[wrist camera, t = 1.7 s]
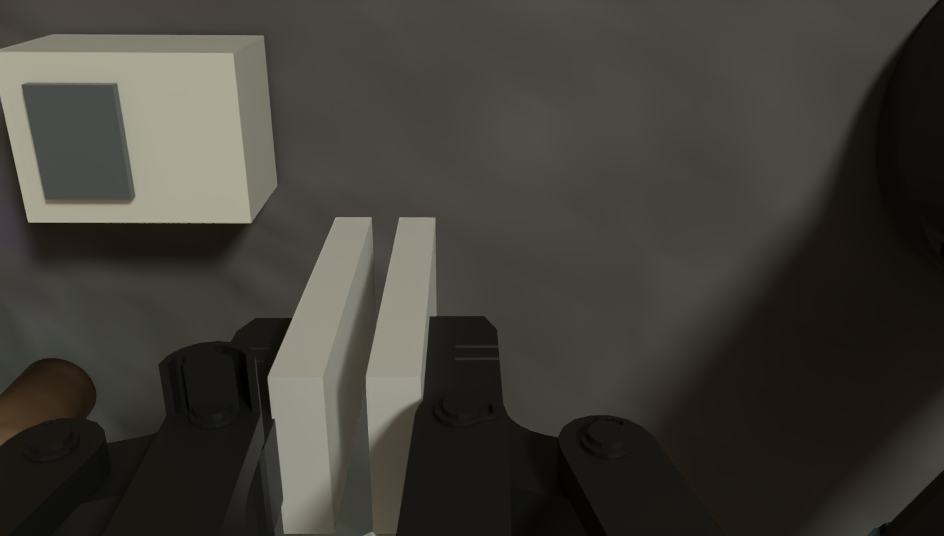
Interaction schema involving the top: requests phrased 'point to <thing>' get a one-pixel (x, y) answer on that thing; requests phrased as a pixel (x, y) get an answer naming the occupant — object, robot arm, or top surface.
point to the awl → (45, 396)
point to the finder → (140, 127)
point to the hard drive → (370, 534)
